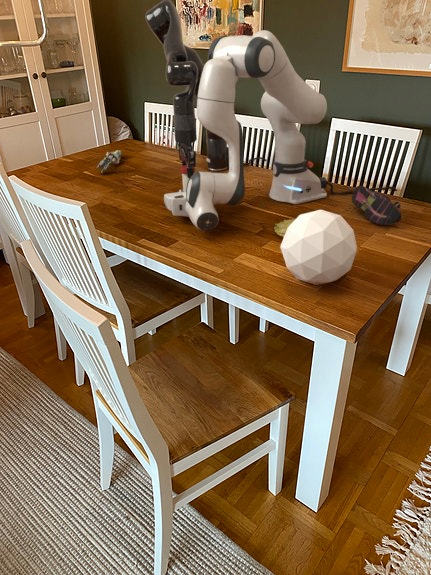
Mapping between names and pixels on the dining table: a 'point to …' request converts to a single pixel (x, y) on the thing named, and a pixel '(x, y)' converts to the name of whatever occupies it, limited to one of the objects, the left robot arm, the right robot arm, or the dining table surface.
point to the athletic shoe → (376, 206)
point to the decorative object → (283, 227)
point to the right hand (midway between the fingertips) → (188, 190)
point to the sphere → (319, 247)
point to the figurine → (110, 160)
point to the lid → (185, 169)
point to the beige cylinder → (185, 181)
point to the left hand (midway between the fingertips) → (188, 175)
